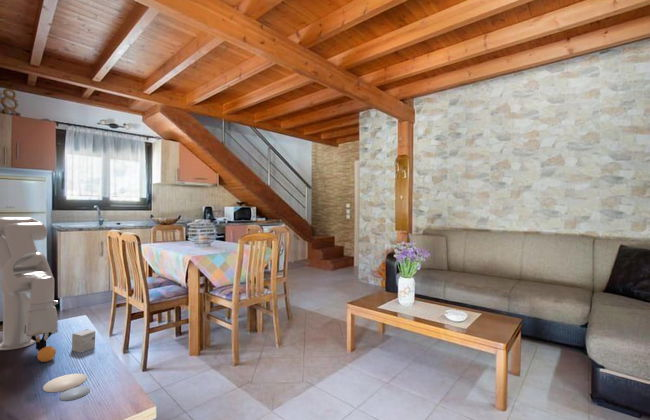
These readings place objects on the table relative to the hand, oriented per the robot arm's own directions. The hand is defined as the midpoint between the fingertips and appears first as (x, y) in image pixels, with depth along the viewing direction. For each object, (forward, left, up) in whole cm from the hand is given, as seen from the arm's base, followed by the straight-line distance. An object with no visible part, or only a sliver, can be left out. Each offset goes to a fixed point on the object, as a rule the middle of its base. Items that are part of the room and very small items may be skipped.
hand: (40, 350), depth 134 cm
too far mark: (+45, 0, -2) cm, 45 cm away
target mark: (+34, 0, -2) cm, 34 cm away
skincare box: (+7, +13, -2) cm, 15 cm away
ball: (+9, 0, +1) cm, 9 cm away
